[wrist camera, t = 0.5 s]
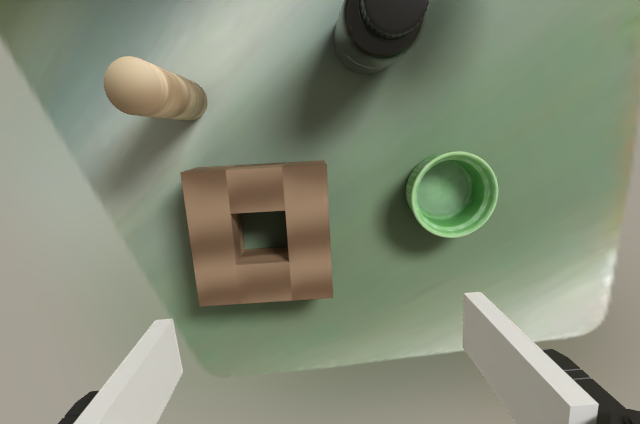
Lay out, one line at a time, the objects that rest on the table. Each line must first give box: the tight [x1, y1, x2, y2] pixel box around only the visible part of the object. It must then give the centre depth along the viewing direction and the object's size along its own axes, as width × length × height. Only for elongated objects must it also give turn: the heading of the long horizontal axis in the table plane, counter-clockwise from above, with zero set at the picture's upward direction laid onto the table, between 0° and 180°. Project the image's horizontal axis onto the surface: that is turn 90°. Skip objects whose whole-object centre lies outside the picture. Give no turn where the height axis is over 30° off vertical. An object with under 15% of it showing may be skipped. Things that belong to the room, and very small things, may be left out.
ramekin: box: [406, 151, 498, 238], centre depth 38 cm, size 9×9×4 cm
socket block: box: [181, 160, 333, 306], centre depth 38 cm, size 14×14×5 cm
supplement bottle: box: [334, 0, 429, 74], centre depth 30 cm, size 7×7×12 cm
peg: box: [104, 56, 207, 120], centre depth 31 cm, size 4×4×12 cm
